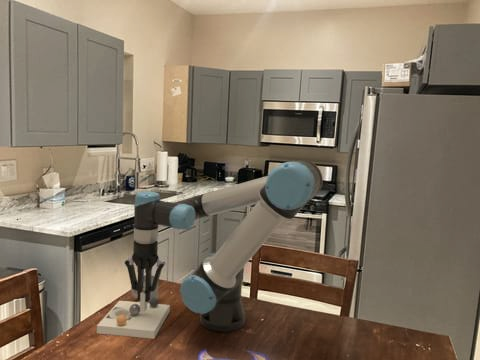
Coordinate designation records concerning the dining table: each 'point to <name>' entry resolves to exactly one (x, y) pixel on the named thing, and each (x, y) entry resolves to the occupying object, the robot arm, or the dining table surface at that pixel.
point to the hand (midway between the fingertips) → (143, 310)
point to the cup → (152, 294)
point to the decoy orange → (121, 319)
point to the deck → (134, 320)
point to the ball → (134, 309)
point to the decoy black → (153, 302)
